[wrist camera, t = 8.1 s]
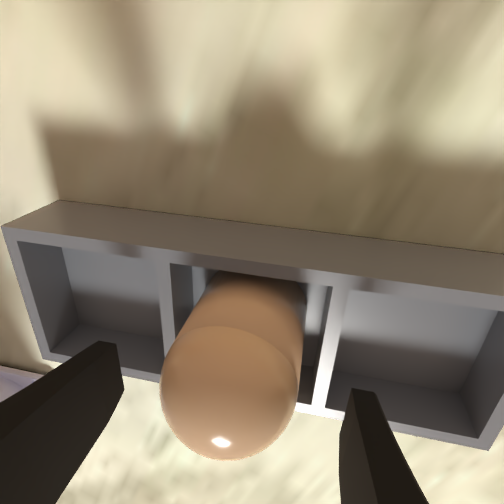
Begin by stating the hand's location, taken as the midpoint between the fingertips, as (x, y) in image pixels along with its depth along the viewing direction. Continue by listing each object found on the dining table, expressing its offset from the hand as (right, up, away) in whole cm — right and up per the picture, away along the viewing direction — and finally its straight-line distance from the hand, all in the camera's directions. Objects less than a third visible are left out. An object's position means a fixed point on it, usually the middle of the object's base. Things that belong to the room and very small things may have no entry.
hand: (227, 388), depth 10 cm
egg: (+1, +2, +4) cm, 4 cm away
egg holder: (+1, +2, +4) cm, 5 cm away
